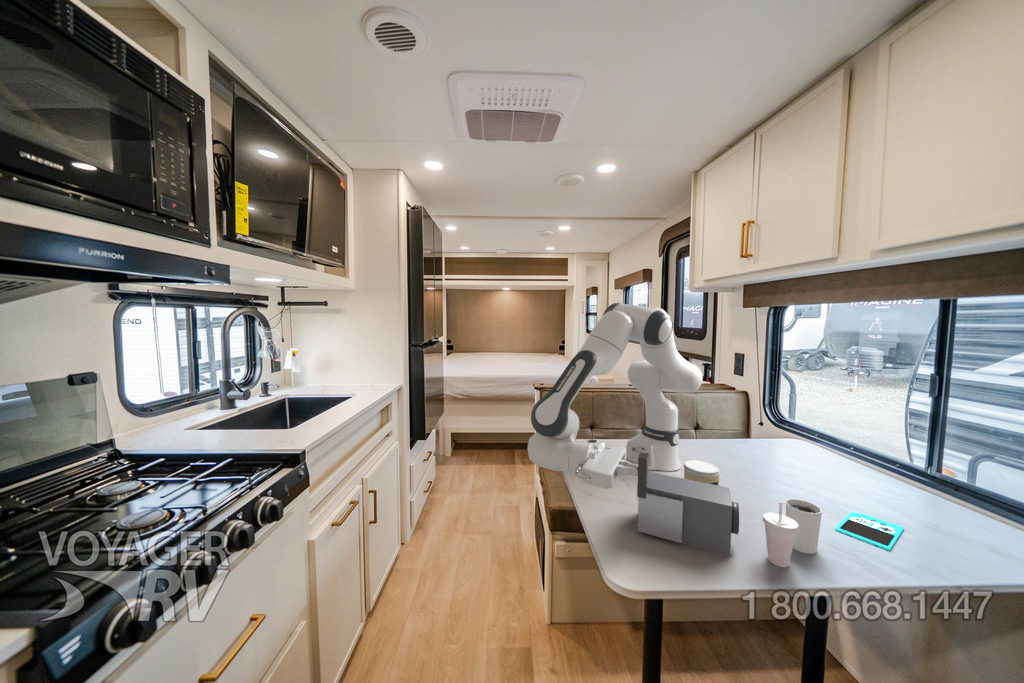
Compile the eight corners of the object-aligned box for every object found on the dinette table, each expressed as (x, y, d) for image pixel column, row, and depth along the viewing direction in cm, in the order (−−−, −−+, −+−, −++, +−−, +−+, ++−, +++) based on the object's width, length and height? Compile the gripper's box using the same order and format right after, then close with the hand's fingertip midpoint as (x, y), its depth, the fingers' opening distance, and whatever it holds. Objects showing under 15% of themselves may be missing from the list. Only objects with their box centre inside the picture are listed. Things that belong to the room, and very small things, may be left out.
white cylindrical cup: (786, 533, 88) (788, 495, 87) (821, 546, 83) (823, 506, 83) (781, 545, 84) (783, 505, 83) (817, 559, 79) (820, 517, 78)
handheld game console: (905, 532, 90) (905, 526, 90) (890, 554, 81) (891, 548, 81) (852, 514, 98) (852, 509, 98) (834, 532, 90) (834, 527, 90)
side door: (636, 536, 85) (638, 457, 84) (638, 528, 88) (640, 452, 87) (681, 548, 81) (684, 465, 79) (681, 540, 84) (684, 459, 82)
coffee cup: (720, 518, 95) (722, 475, 94) (682, 510, 99) (684, 469, 98) (716, 502, 103) (718, 462, 103) (681, 495, 107) (683, 457, 107)
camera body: (638, 532, 89) (639, 486, 88) (644, 512, 98) (645, 471, 97) (738, 560, 78) (740, 509, 78) (734, 535, 87) (736, 489, 87)
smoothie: (758, 561, 78) (761, 501, 77) (763, 548, 82) (766, 491, 82) (794, 576, 73) (798, 512, 73) (798, 561, 78) (801, 501, 77)
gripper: (571, 462, 83) (631, 474, 77) (594, 436, 101) (644, 445, 95) (571, 487, 84) (630, 502, 77) (594, 457, 102) (644, 467, 95)
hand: (638, 470), depth 86 cm, fingers closed
